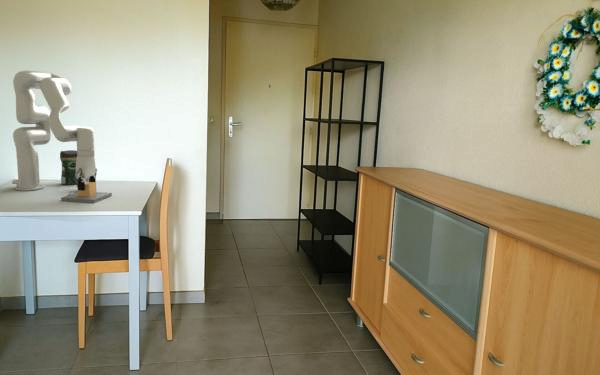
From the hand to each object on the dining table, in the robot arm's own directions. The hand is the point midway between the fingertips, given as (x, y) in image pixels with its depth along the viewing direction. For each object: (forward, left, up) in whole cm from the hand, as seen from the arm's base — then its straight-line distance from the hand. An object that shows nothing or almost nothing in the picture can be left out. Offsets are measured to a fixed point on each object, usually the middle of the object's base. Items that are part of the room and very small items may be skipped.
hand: (87, 188), depth 226 cm
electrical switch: (-11, +17, -5) cm, 20 cm away
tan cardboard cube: (0, 0, -3) cm, 3 cm away
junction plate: (0, 0, -5) cm, 5 cm away
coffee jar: (-27, +31, -5) cm, 41 cm away
